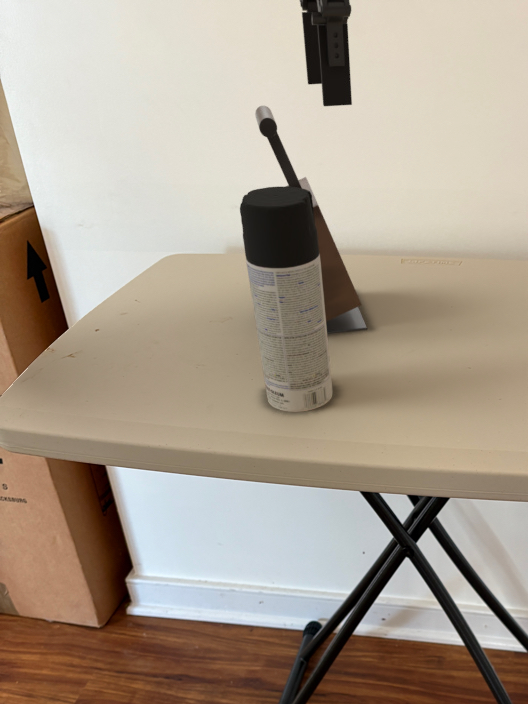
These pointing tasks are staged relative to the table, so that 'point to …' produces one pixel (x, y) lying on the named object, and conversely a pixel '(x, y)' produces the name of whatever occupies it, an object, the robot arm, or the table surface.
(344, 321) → the stand
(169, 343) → the table surface
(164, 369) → the table surface
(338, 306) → the brown box with handle
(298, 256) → the spray can
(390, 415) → the table surface
